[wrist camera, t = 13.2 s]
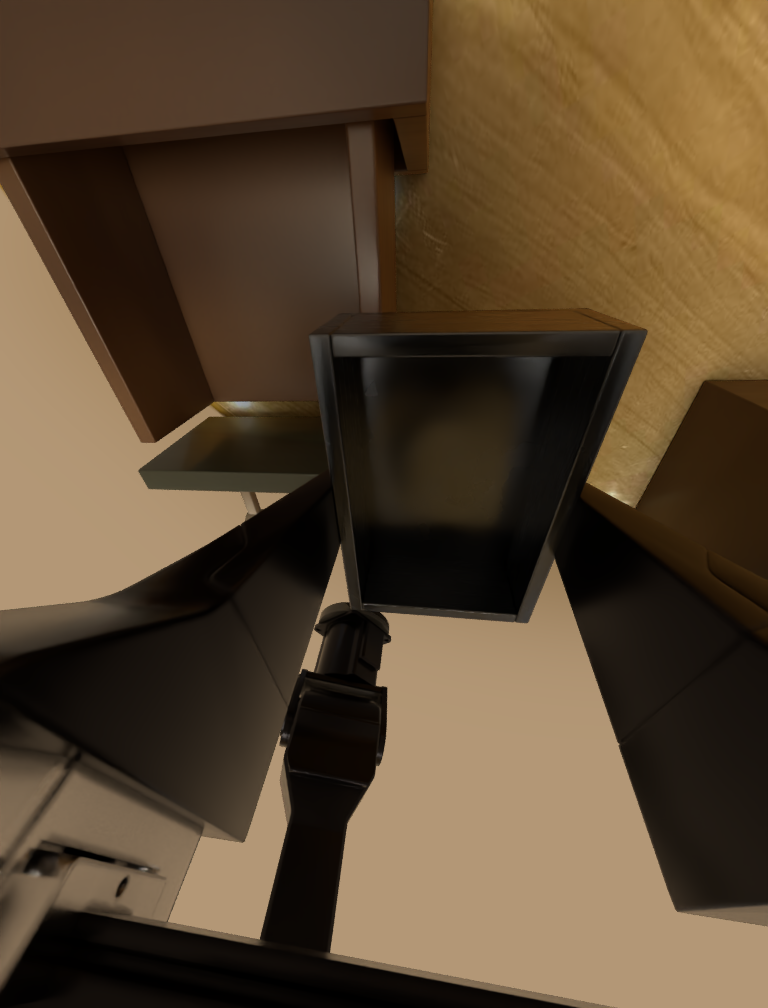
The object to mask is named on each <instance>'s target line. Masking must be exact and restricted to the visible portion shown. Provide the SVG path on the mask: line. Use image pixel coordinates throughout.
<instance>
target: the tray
mask: <svg viewBox="0 0 768 1008" xmlns="http://www.w3.org/2000/svg"><path fill="white" fill-rule="evenodd" d="M647 332H648V331H647V330H646V329H644V328H641V327H638V326H635V325H633V324H630V323H627V322H624V321H621V320H619V319H616V318H613V317H610V316H607V315H605V314H602V313H599V312H596V311H593V310H591V309H588V308H576V309H526V310H477V311H427V312H378V313H340V314H338V315H337V316H335V317H334V318H332V319H331V320H329V321H328V322H327V323H325V324H324V325H322V326H321V327H319V328H318V329H316V330H315V331H313V332H312V333H310V334H309V343H310V350H311V356H312V363H313V369H314V376H315V382H316V389H317V395H318V402H319V408H320V414H321V421H322V427H323V434H324V440H325V447H326V453H327V460H328V466H329V472H330V479H331V485H332V490H333V497H334V503H335V510H336V516H337V523H338V529H339V536H340V542H341V550H342V556H343V563H344V569H345V576H346V582H347V589H348V595H349V601H350V608H351V610H364V611H374V612H387V613H400V614H413V615H427V616H440V617H453V618H465V619H478V620H491V621H504V622H517V623H528V622H529V619H530V617H531V615H532V612H533V610H534V607H535V605H536V603H537V600H538V598H539V595H540V593H541V590H542V588H543V586H544V583H545V580H546V578H547V576H548V573H549V571H550V569H551V566H552V564H553V561H554V559H555V557H554V555H555V552H556V550H557V547H558V545H559V543H560V540H561V538H562V535H563V533H564V530H565V528H566V525H567V523H568V521H569V518H570V516H571V513H572V511H573V508H574V506H575V503H576V501H577V499H578V498H579V497H580V496H581V493H582V491H583V488H584V486H585V483H586V481H587V479H588V476H589V474H590V471H591V469H592V466H593V464H594V462H595V459H596V457H597V454H598V452H599V449H600V447H601V445H602V442H603V440H604V437H605V435H606V432H607V430H608V428H609V425H610V423H611V420H612V418H613V415H614V413H615V411H616V408H617V406H618V403H619V401H620V398H621V396H622V394H623V391H624V389H625V386H626V384H627V381H628V379H629V377H630V374H631V372H632V369H633V367H634V364H635V362H636V360H637V357H638V355H639V352H640V350H641V347H642V345H643V342H644V340H645V338H646V335H647Z"/></svg>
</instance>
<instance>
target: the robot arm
mask: <svg viewBox="0 0 768 1008" xmlns="http://www.w3.org/2000/svg"><path fill="white" fill-rule="evenodd" d="M340 544H341V542H340V536H339V529H338V523H337V516H336V510H335V503H334V497H333V490H332V485H331V479H330V472H329V469H327V470H325V471H324V472H322V473H321V474H319V475H317V476H316V477H314V478H313V479H311V480H310V481H308V482H306V483H305V484H303V485H302V486H300V487H299V488H297V489H295V490H294V491H292V492H291V493H289V494H288V495H286V496H284V497H283V498H281V499H280V500H278V501H276V502H275V503H273V504H272V505H270V506H269V507H267V508H265V509H264V510H262V511H261V512H259V513H257V514H256V515H254V516H253V517H251V518H249V519H248V520H246V521H245V522H243V523H242V524H241V526H240V525H238V526H237V527H235V528H234V529H232V530H230V531H229V532H227V533H226V534H224V535H223V536H221V537H219V538H217V539H216V540H214V541H212V542H211V543H209V544H207V545H206V546H204V547H202V548H200V549H198V550H197V551H195V552H193V553H191V554H189V555H188V556H186V557H184V558H182V559H180V560H178V561H176V562H174V563H173V564H171V565H169V566H167V567H165V568H163V569H161V570H160V571H158V572H156V573H154V574H152V575H150V576H148V577H147V578H145V579H143V580H141V581H139V582H138V583H135V584H134V585H132V586H130V587H128V588H126V589H124V590H122V591H119V592H117V593H114V594H111V595H109V596H105V597H102V598H98V599H94V600H90V601H84V602H76V603H66V604H57V605H48V606H39V607H30V608H20V609H10V610H1V611H0V1008H615V1007H610V1006H605V1005H599V1004H594V1003H589V1002H584V1001H578V1000H573V999H568V998H563V997H558V996H552V995H547V994H542V993H537V992H531V991H526V990H521V989H516V988H510V987H505V986H500V985H495V984H490V983H484V982H479V981H474V980H469V979H463V978H458V977H453V976H448V975H442V974H437V973H431V972H427V971H422V970H416V969H411V968H406V967H400V966H395V965H390V964H385V963H380V962H374V961H369V960H364V959H359V958H353V957H348V956H343V955H337V954H332V953H330V948H331V941H332V934H333V926H334V919H335V911H336V903H337V896H338V887H339V881H340V873H341V866H342V859H343V851H344V844H345V836H346V829H347V823H348V822H349V820H350V818H351V817H352V815H353V813H354V812H355V810H356V808H357V807H358V805H359V803H360V802H361V800H362V798H363V797H364V795H365V793H366V791H367V789H368V788H369V786H370V784H371V782H372V781H373V779H374V776H375V770H376V766H379V765H380V763H381V760H382V756H383V752H384V746H385V739H386V727H387V687H384V686H382V687H379V686H376V678H377V671H378V670H379V669H380V663H381V656H382V655H381V654H382V647H383V644H386V643H389V642H390V641H391V636H390V635H388V634H387V633H386V632H385V631H383V630H382V629H381V628H379V627H378V626H377V625H376V624H374V623H373V622H372V621H370V620H369V619H368V618H367V617H365V616H364V615H363V614H361V613H360V612H359V611H357V610H349V611H347V612H345V613H342V614H340V615H338V616H335V617H333V618H330V619H328V620H326V621H323V622H321V623H319V624H316V625H315V628H314V624H315V622H316V619H317V615H318V612H319V609H320V606H321V603H322V600H323V597H324V594H325V591H326V588H327V584H328V582H329V579H330V575H331V572H332V569H333V566H334V563H335V560H336V557H337V554H338V550H339V547H340ZM554 557H555V560H556V564H557V567H558V569H559V572H560V575H561V578H562V581H563V584H564V587H565V590H566V593H567V596H568V599H569V602H570V604H571V607H572V610H573V613H574V616H575V619H576V622H577V625H578V628H579V631H580V634H581V637H582V640H583V642H584V646H585V648H586V651H587V654H588V657H589V659H590V663H591V666H592V669H593V672H594V675H595V678H596V681H597V683H598V686H599V689H600V692H601V695H602V698H603V701H604V704H605V707H606V709H607V713H608V715H609V718H610V722H611V724H612V727H613V730H614V733H615V736H616V739H617V742H618V743H619V749H620V752H621V754H622V757H623V760H624V763H625V766H626V769H627V772H628V775H629V778H630V781H631V784H632V787H633V790H634V792H635V795H636V798H637V801H638V804H639V807H640V810H641V813H642V816H643V819H644V821H645V824H646V827H647V830H648V833H649V836H650V839H651V842H652V845H653V848H654V851H655V854H656V857H657V859H658V862H659V865H660V868H661V871H662V874H663V877H664V880H665V883H666V886H667V889H668V892H669V894H670V897H671V900H672V902H673V904H674V907H675V909H676V911H677V912H682V913H687V914H693V915H700V916H706V917H712V918H719V919H725V920H731V921H738V922H744V923H750V924H756V925H762V926H768V580H766V579H764V578H762V577H760V576H758V575H757V574H755V573H753V572H751V571H749V570H747V569H745V568H743V567H741V566H739V565H738V564H736V563H734V562H732V561H730V560H728V559H726V558H724V557H723V556H721V555H719V554H717V553H715V552H713V551H712V550H707V549H706V547H704V546H702V545H700V544H699V543H697V542H695V541H693V540H691V539H689V538H687V537H686V536H684V535H682V534H680V533H678V532H676V531H675V530H673V529H671V528H669V527H667V526H665V525H664V524H662V523H660V522H658V521H656V520H654V519H652V518H651V517H649V516H647V515H645V514H643V513H641V512H640V511H638V510H636V509H634V508H632V507H630V506H629V505H627V504H625V503H623V502H621V501H619V500H618V499H616V498H614V497H612V496H610V495H608V494H606V493H605V492H603V491H601V490H599V489H597V488H595V487H594V486H592V485H590V484H588V483H585V486H584V488H583V491H582V493H581V496H580V497H579V498H578V499H577V501H576V503H575V506H574V508H573V511H572V513H571V516H570V518H569V521H568V523H567V525H566V528H565V530H564V533H563V535H562V538H561V540H560V543H559V545H558V547H557V550H556V552H555V555H554ZM313 628H314V630H315V631H316V632H318V633H319V634H321V635H322V636H324V637H323V641H322V644H321V648H320V652H319V655H318V659H317V663H316V666H315V670H314V672H310V671H308V670H306V669H302V672H301V674H299V672H300V668H301V665H302V662H303V659H304V656H305V653H306V650H307V647H308V644H309V641H310V638H311V634H312V631H313ZM280 731H281V732H280ZM279 734H280V736H281V740H280V746H282V747H286V750H285V754H284V759H283V765H282V771H281V777H280V785H281V791H282V797H283V802H284V808H285V814H286V820H287V824H288V825H287V826H288V827H287V831H286V835H285V839H284V843H283V847H282V851H281V855H280V859H279V863H278V867H277V872H276V875H275V880H274V884H273V888H272V892H271V896H270V900H269V904H268V908H267V912H266V916H265V920H264V924H263V928H262V932H261V937H260V940H259V939H254V938H249V937H244V936H238V935H233V934H228V933H223V932H217V931H211V930H207V929H202V928H196V927H191V926H186V925H181V924H175V923H170V922H168V919H169V917H170V914H171V911H172V909H173V906H174V904H175V901H176V899H177V896H178V893H179V891H180V888H181V886H182V883H183V881H184V878H185V876H186V873H187V870H188V868H189V865H190V863H191V860H192V858H193V855H194V853H195V850H196V847H197V845H198V842H199V840H200V837H201V836H204V837H211V838H217V839H223V840H229V841H235V842H242V843H243V842H244V841H245V839H246V836H247V833H248V830H249V827H250V824H251V821H252V818H253V815H254V812H255V809H256V806H257V803H258V800H259V796H260V793H261V790H262V787H263V784H264V781H265V778H266V775H267V771H268V768H269V765H270V762H271V759H272V756H273V753H274V750H275V747H276V743H277V741H278V737H279Z"/></svg>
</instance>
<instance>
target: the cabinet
mask: <svg viewBox="0 0 768 1008" xmlns="http://www.w3.org/2000/svg"><path fill="white" fill-rule="evenodd" d="M432 22H433V0H0V158H6V157H16V156H26V155H36V154H45V153H55V152H65V151H75V150H85V149H95V148H104V147H114V146H124V145H134V144H144V143H154V142H163V141H173V140H183V139H193V138H203V137H213V136H222V135H232V134H242V133H252V132H262V131H272V130H281V129H291V128H301V127H311V126H321V125H331V124H340V123H350V122H360V121H370V120H380V119H390V118H393V122H394V176H398V175H410V174H422V173H427V172H428V168H429V131H430V95H431V58H432Z"/></svg>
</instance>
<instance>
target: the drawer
mask: <svg viewBox="0 0 768 1008" xmlns="http://www.w3.org/2000/svg"><path fill="white" fill-rule="evenodd" d="M0 183H1V185H2V187H3V189H4V191H5V193H6V194H7V196H8V198H9V200H10V202H11V204H12V206H13V207H14V209H15V211H16V213H17V215H18V217H19V218H20V220H21V222H22V224H23V226H24V228H25V229H26V231H27V233H28V235H29V237H30V239H31V240H32V242H33V244H34V246H35V248H36V250H37V252H38V253H39V255H40V257H41V259H42V261H43V263H44V264H45V266H46V268H47V270H48V272H49V274H50V275H51V277H52V279H53V281H54V283H55V285H56V286H57V288H58V290H59V292H60V294H61V296H62V298H63V299H64V301H65V303H66V305H67V307H68V308H69V310H70V312H71V314H72V316H73V318H74V320H75V321H76V323H77V325H78V327H79V329H80V331H81V332H82V334H83V336H84V338H85V340H86V342H87V344H88V345H89V347H90V349H91V351H92V353H93V355H94V356H95V358H96V360H97V362H98V364H99V365H100V367H101V369H102V371H103V373H104V375H105V377H106V378H107V380H108V382H109V384H110V386H111V388H112V389H113V391H114V393H115V395H116V397H117V398H118V400H119V402H120V404H121V406H122V408H123V410H124V412H125V413H126V415H127V417H128V419H129V421H130V422H131V424H132V426H133V428H134V430H135V432H136V434H137V435H138V437H139V439H140V441H141V442H142V443H155V442H157V441H159V440H160V439H162V438H163V437H164V436H166V435H167V434H169V433H170V432H171V431H173V430H175V429H176V428H177V427H179V426H180V425H182V424H183V423H185V422H186V421H187V420H189V419H190V418H192V417H193V416H194V415H196V414H197V413H199V412H200V411H202V410H203V409H205V408H206V407H207V406H209V405H210V404H212V403H213V402H233V401H318V395H317V389H316V382H315V376H314V369H313V363H312V356H311V350H310V343H309V334H310V333H312V332H313V331H315V330H316V329H318V328H319V327H321V326H322V325H324V324H325V323H327V322H328V321H329V320H331V319H332V318H334V317H335V316H337V315H338V314H340V313H378V312H397V296H396V238H395V180H394V122H393V118H390V119H380V120H370V121H360V122H350V123H340V124H331V125H321V126H311V127H301V128H291V129H281V130H272V131H262V132H252V133H242V134H232V135H222V136H213V137H203V138H193V139H183V140H173V141H163V142H154V143H144V144H134V145H124V146H114V147H104V148H95V149H85V150H75V151H65V152H55V153H45V154H36V155H26V156H16V157H6V158H0ZM327 469H329V466H328V460H327V453H326V447H325V440H324V434H323V427H322V421H321V417H208V418H207V419H206V420H205V421H203V422H202V423H200V424H199V425H198V426H196V427H195V428H194V429H192V430H191V431H190V432H188V433H187V434H186V435H184V436H183V437H182V438H180V439H179V440H178V441H176V442H175V443H174V444H173V445H171V446H170V447H169V448H167V449H166V450H164V451H163V452H162V453H161V454H159V455H158V456H156V457H155V458H154V459H152V460H151V461H150V462H149V463H147V464H146V465H144V466H143V467H142V468H140V469H139V473H140V475H141V477H142V478H143V480H144V482H145V483H146V485H147V487H148V488H149V489H164V490H166V489H167V490H198V491H232V492H241V495H242V498H243V500H244V503H245V505H246V508H247V510H248V513H247V515H246V519H245V521H246V520H248V519H249V518H251V517H253V516H254V515H256V514H257V513H259V512H261V511H262V510H264V509H260V506H259V503H258V500H257V497H256V494H255V492H266V493H291V492H292V491H294V490H295V489H297V488H299V487H300V486H302V485H303V484H305V483H306V482H308V481H310V480H311V479H313V478H314V477H316V476H317V475H319V474H321V473H322V472H324V471H325V470H327Z"/></svg>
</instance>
